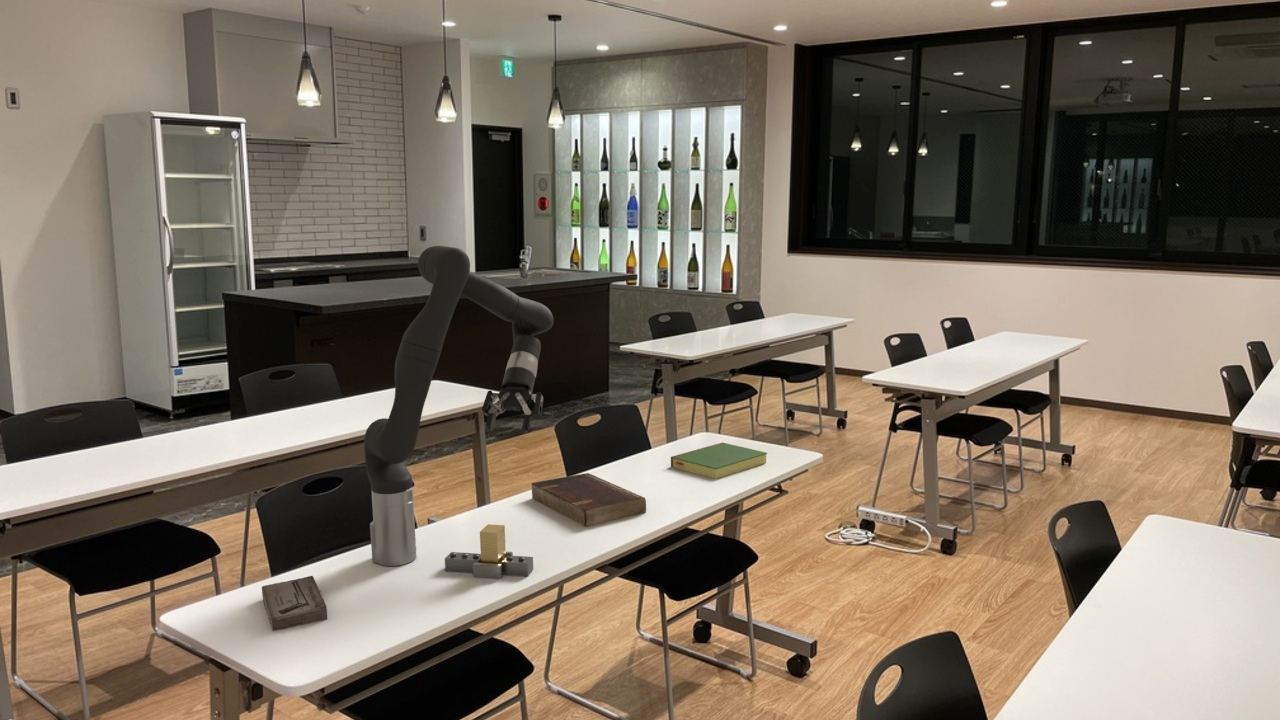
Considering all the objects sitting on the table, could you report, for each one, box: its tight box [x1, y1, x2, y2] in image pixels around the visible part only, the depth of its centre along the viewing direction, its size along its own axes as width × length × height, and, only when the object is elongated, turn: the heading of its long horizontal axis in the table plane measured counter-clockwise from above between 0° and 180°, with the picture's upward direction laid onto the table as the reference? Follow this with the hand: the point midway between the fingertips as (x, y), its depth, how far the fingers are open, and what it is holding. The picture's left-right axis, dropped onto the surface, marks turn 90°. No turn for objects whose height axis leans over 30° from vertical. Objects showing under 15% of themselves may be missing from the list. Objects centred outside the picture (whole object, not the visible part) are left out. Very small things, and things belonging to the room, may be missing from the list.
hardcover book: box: [670, 442, 768, 480], centre depth 293 cm, size 25×19×4 cm
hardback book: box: [531, 472, 647, 528], centre depth 256 cm, size 29×19×5 cm, turn 35°
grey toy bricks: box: [444, 551, 534, 580], centre depth 212 cm, size 20×8×4 cm, turn 79°
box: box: [261, 575, 328, 632], centre depth 193 cm, size 11×17×3 cm, turn 28°
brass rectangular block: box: [479, 524, 507, 564], centre depth 211 cm, size 4×5×10 cm
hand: (507, 430), depth 222 cm, fingers open, 8 cm apart
